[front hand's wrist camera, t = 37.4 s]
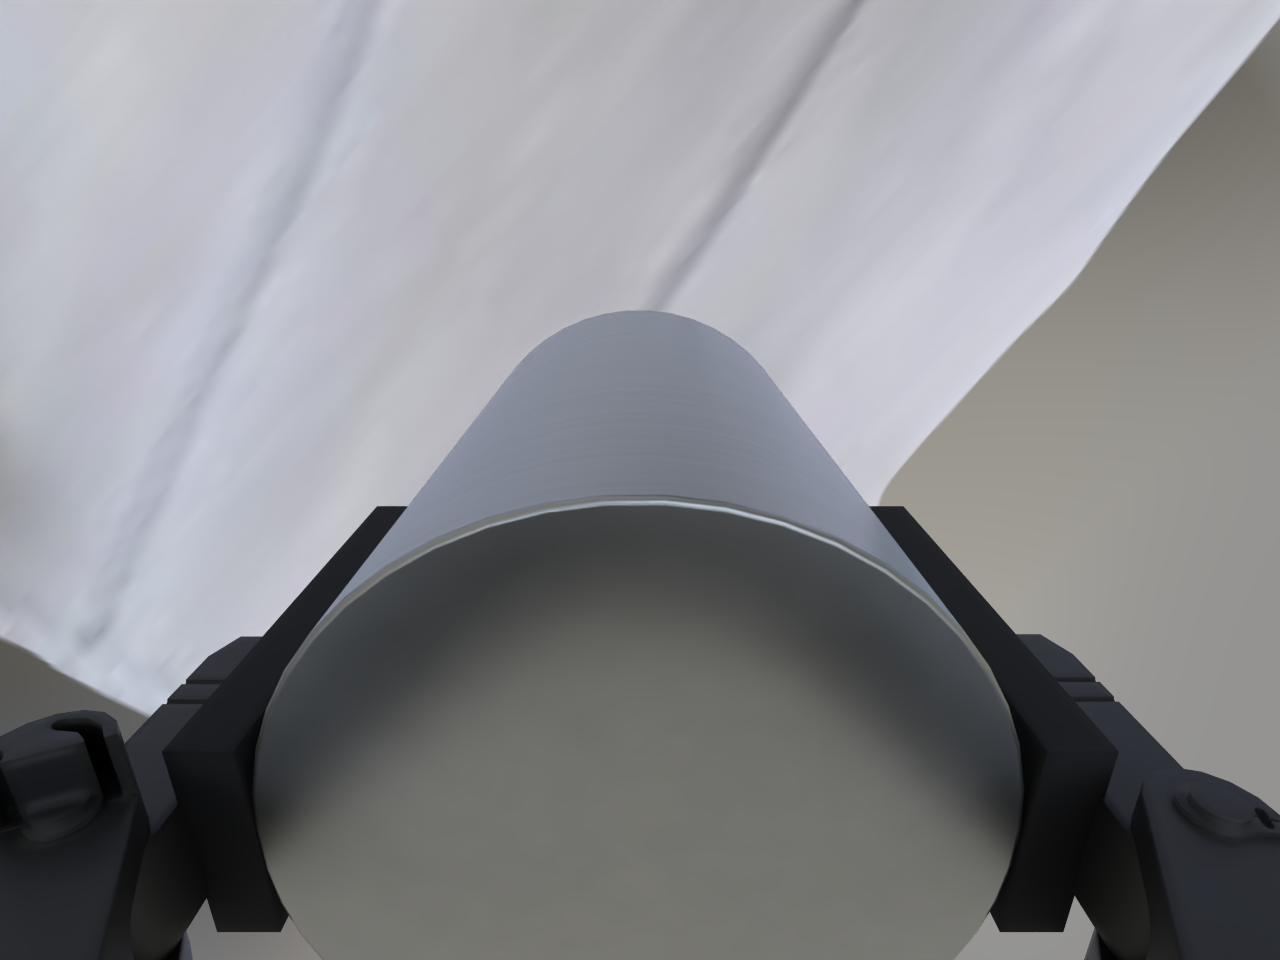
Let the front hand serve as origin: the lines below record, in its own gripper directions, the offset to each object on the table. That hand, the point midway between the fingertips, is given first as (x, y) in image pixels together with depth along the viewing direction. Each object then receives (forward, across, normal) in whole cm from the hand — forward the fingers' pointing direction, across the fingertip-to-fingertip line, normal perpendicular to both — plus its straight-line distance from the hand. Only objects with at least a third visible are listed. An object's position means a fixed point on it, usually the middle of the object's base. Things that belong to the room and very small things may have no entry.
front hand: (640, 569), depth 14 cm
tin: (+6, 0, 0) cm, 6 cm away
